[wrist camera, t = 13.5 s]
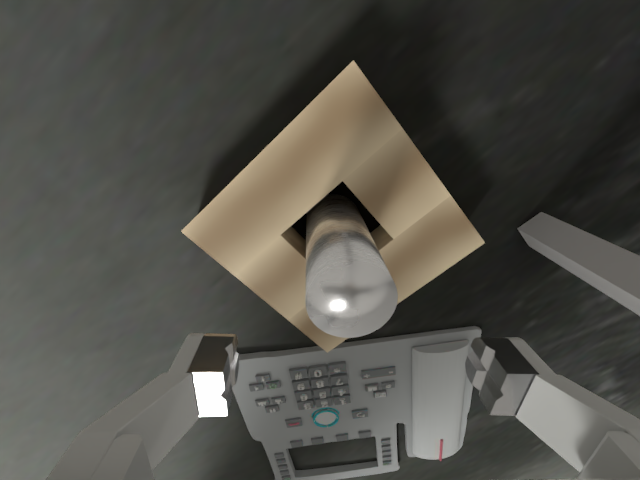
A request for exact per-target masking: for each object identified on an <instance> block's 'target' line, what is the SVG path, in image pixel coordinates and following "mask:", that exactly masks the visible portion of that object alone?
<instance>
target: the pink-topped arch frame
mask: <svg viewBox="0 0 640 480" xmlns="http://www.w3.org/2000/svg"><path fill="white" fill-rule="evenodd" d="M517 229H518V231H519V232H520V234H521V235H522V237H523V238H524V240H525V241H526V243H527V244H528V246H530V247H531V248H533V249H534V250H536V251H538V252H539V253H541V254H542V255H544V256H545V257H547V258H549V259H550V260H552V261H553V262H555V263H557V264H558V265H560V266H561V267H563V268H565V269H566V270H568V271H569V272H571V273H572V274H574V275H576V276H577V277H579V278H580V279H582V280H584V281H585V282H587V283H588V284H590V285H592V286H593V287H595V288H596V289H598V290H599V291H601V292H603V293H604V294H606V295H607V296H609V297H611V298H612V299H614V300H615V301H617V302H619V303H620V304H622V305H623V306H625V307H626V308H628V309H630V310H631V311H633V312H634V313H636V314H638V315H639V316H640V256H639V255H637V254H634V253H632V252H630V251H628V250H625V249H623V248H621V247H619V246H617V245H614V244H612V243H610V242H608V241H605V240H603V239H601V238H599V237H597V236H594V235H592V234H590V233H588V232H585V231H583V230H581V229H579V228H576V227H574V226H572V225H570V224H568V223H565V222H563V221H561V220H559V219H556V218H554V217H552V216H550V215H548V214H545V213H543V212H540V213H539V214H537V215H536V216H535V217H533V218H532V219H530V220H529V221H527V222H526V223H524V224H523V225H521V226H520V227H519V228H517Z"/></svg>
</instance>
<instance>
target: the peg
mask: <svg viewBox="0 0 640 480" xmlns="http://www.w3.org/2000/svg"><path fill="white" fill-rule="evenodd" d="M397 300H398V293H397V288H396V285H395V283H394V281H393V279H392V277H391V275H390V273H389V271H388V269H387V267H386V265H385V263H384V261H383V259H382V256H381V254H380V252H379V250H378V248H377V246H376V244H375V242H374V240H373V238H372V236H371V234H370V232H369V230H368V228H367V226H366V224H365V222H364V220H363V218H362V216H361V214H360V212H359V210H358V208H357V206H356V205H355V204H354V202H353V201H351V200H350V199H349V198H347V197H345V196H342V195H336V194H332V195H326V196H325V197H324V198H323V199H321V200H320V201H319V202H318V203H317V204H316V205H315V206H313V207H312V208H311V209H310V210H309V211H308V213H307V218H306V293H305V303H306V310H307V313H308V316H309V318H310V319H311V321H312V322H313V323H314V324H315V325H316V326H317V327H318V328H319V329H320V330H322V331H324V332H325V333H327V334H330V335H333V336H336V337H342V338H354V337H360V336H364V335H367V334H370V333H372V332H374V331H376V330H378V329H379V328H381V327H382V326H383V325H384V324H385V323H386V322H387V321H388V320H389V319H390V318H391V316H392V315H393V313H394V311H395V309H396V305H397Z"/></svg>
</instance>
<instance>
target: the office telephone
mask: <svg viewBox="0 0 640 480" xmlns="http://www.w3.org/2000/svg"><path fill="white" fill-rule="evenodd" d="M481 332H482V331H481V329H480V328H479V327H476V326H471V327H463V328H454V329H446V330H438V331H430V332H422V333H415V334H407V335H399V336H391V337H384V338H376V339H368V340H360V341H353V342H345V343H341V344H339V345H338V346H336V347H335V348H334V349H332V350H331V351H329V352H328V353H327V352H326V351H325V350H323V349H322V348H321V347H320V346H314V347H306V348H298V349H290V350H282V351H271V352H268V351H266V352H255V353H247V354H239V370H238V377H237V381H236V384H235V385H234V386H233V387H232V390H233V393H234V395H235V398H236V400H237V403H238V405H239V408H240V411H241V413H242V416H243V418H244V421H245V423H246V426H247V428H248V431H249V433H250V435H251V436H252V438H253V439H254V440H256V441H261V442H262V444H263V446H264V449H265V451H266V454H267V456H268V459H269V461H270V464H271V467H272V470H273V473H274V475H275V480H336V479H343V478H351V477H358V476H366V475H373V474H380V473H386V472H392V471H396V470H398V469H399V463H398V457H397V430H396V424H397V423H403V424H404V425H405V444H406V451H407V455H408V456H409V457H419V458H423V459H434V460H435V459H439V460H440V461H442V458H446V457H449V456H451V455H453V454H455V453H456V452H457V451H458V450H459V449H460V448H461V447H462V444H463V440H464V435H465V430H466V424H467V414H468V413H469V409H470V403H471V396H472V389H473V385H472V384H471V382H470V381H469V379H468V377H467V374H466V368H465V362H466V359H467V356H468V355H469V354H470V353H471V352H473V350H472V348H471V344H472V341H473V340H474V339H475V338H476V337H481ZM372 436H375V440H376V451H377V461H371V462H364V463H357V464H349V465H341V466H334V467H326V468H317V469H308V470H295V468H294V465H293V463H292V460H291V457H290V454H289V451H288V449H289V448H295V447H303V446H308V445H317V444H324V443H328V442H335V441H337V442H339V441H346V440H349V439H356V438H359V439H361V438H368V437H372Z"/></svg>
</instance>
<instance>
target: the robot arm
mask: <svg viewBox="0 0 640 480" xmlns="http://www.w3.org/2000/svg"><path fill="white" fill-rule="evenodd" d="M237 345H238V339H237V335H236V334H210V333H206V334H201V333H190V334H189V335H188V336H187V337H186V339H185V340H184V342H183V344H182V346H181V348H180V350H179V352H178V354H177V356H176V358H175V359H174V361H173V363H172V365H171V367H170V369H169V371H168V373H162V374H160V375H159V376H158V377H156V378H155V379H153V380H152V381H151V382H149V383H148V384H146V385H145V386H144V387H142V388H141V389H139V390H138V391H137V392H135V393H134V394H132V395H131V396H130V397H128V398H127V399H125V400H124V401H123V402H121V403H120V404H118V405H117V406H115V407H114V408H113V409H111V410H110V411H108V412H107V413H106V414H104V415H103V416H101V417H100V418H99V419H97V420H96V421H94V422H93V423H92V424H90V425H89V426H87V427H86V428H85V429H83V430H82V431H80V432H79V433H78V435H77V436H76V437H75V439H74V440H73V442H72V443H71V444H70V446H69V447H68V449H67V450H66V452H65V453H64V454H63V456H62V457H61V459H60V460H59V461H58V463H57V464H56V466H55V467H54V469H53V470H52V471H51V473H50V474H49V476H48V477H47V479H46V480H154V476H153V473H152V470H153V469H154V468H155V467H156V466H157V465H158V464H159V463H160V461H161V460H162V459H163V458H164V457H165V456H166V455H167V454H168V453H169V451H170V450H171V449H172V448H173V447H174V446H175V445H176V444H177V442H178V441H179V440H180V439H181V438H182V437H183V436H184V435H185V434H186V432H187V431H188V430H189V429H190V428H191V427H192V426H193V425H194V424H195V422H196V421H197V420H198V419H199V417H207V416H228V412H229V408H230V404H231V401H232V397H233V394H232V387H233V386H234V385H235V384H236V381H237V377H238V370H239V354H238V353H237V352H236V349H237ZM471 348H472V350H473V352H471V353H470V354H469V355H468V356H467V359H466V362H465V368H466V374H467V377H468V379H469V381H470V382H471V384H472V385H473V386H474V387H476V388H477V389H478V390H480V392H479V398H480V399H481V401H482V403H483V404H484V406H485V408H486V409H487V411H488V413H489V414H490V415H508V416H516V418H517V419H518V420H520V421H521V422H522V423H523V424H524V425H525V426H527V427H528V428H529V429H530V430H531V431H532V432H533V433H535V434H536V435H537V436H538V437H539V438H540V439H542V440H543V441H544V442H545V443H546V444H547V445H549V446H550V447H551V448H552V449H553V450H554V451H556V452H557V453H558V454H559V455H560V456H561V457H563V458H564V459H565V460H566V461H567V462H568V463H569V464H571V465H572V466H573V467H574V468H575V469H576V470H578V471H579V472H580V473H579V474H578V476H577V477H576V479H529V480H640V419H638V418H636V417H635V416H633V415H631V414H629V413H627V412H626V411H624V410H622V409H620V408H619V407H617V406H615V405H613V404H611V403H610V402H608V401H606V400H604V399H603V398H601V397H599V396H597V395H595V394H594V393H592V392H590V391H588V390H587V389H585V388H583V387H581V386H579V385H578V384H576V383H574V382H572V381H571V380H569V379H567V378H565V377H563V376H562V375H556V374H555V373H554V372H553V371H552V370H551V369H550V368H549V367H548V366H547V365H546V363H545V362H544V361H543V360H542V359H541V358H540V357H539V356H538V355H537V354H536V353H535V352H534V351H533V350H532V349H531V347H530V346H529V345H528V344H527V343H526V342H525V341H524V340H523V339H521V338H519V337H504V338H490V337H476V338H475V339H474V340H473V341H472V344H471Z"/></svg>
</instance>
